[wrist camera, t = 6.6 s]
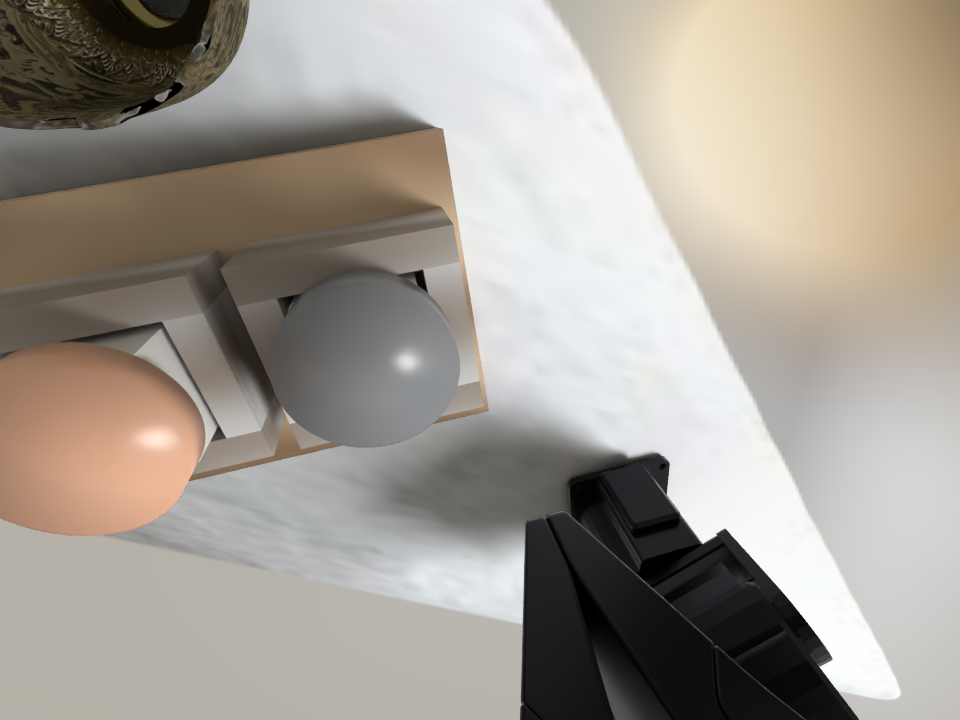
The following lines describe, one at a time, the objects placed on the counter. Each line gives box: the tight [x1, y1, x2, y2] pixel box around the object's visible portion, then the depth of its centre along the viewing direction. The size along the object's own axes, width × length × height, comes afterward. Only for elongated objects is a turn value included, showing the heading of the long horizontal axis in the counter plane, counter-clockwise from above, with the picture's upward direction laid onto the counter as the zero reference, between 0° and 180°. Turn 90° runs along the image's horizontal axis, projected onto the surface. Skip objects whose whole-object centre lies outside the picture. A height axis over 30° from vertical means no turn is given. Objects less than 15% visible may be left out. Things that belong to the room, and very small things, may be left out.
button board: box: [0, 128, 488, 481], centre depth 17 cm, size 12×16×5 cm
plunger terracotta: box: [0, 322, 219, 536], centre depth 14 cm, size 6×6×4 cm
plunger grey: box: [269, 270, 460, 447], centre depth 15 cm, size 6×6×4 cm
